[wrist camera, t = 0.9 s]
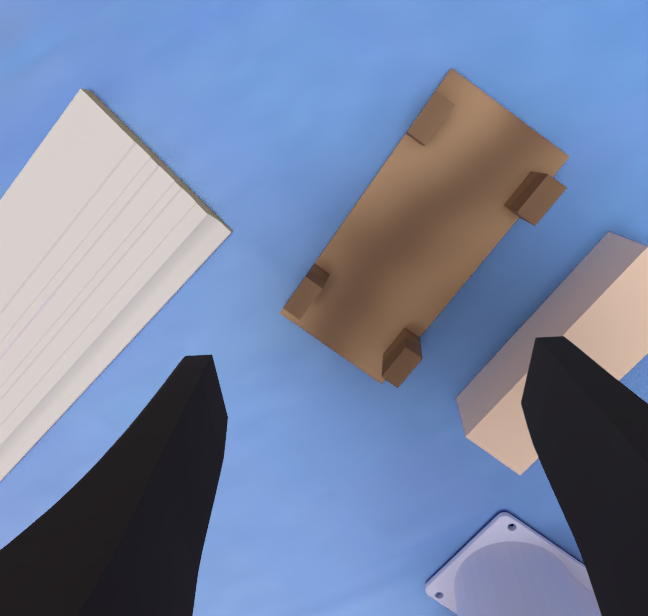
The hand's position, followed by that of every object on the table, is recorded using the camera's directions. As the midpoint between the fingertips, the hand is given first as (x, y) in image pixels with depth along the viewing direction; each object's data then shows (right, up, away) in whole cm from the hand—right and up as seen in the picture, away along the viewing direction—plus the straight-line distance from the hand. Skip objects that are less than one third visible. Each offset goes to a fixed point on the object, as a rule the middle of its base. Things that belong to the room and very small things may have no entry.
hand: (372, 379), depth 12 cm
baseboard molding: (-20, -1, +22) cm, 30 cm away
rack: (+4, +5, +16) cm, 17 cm away
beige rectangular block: (+11, 0, +17) cm, 20 cm away
